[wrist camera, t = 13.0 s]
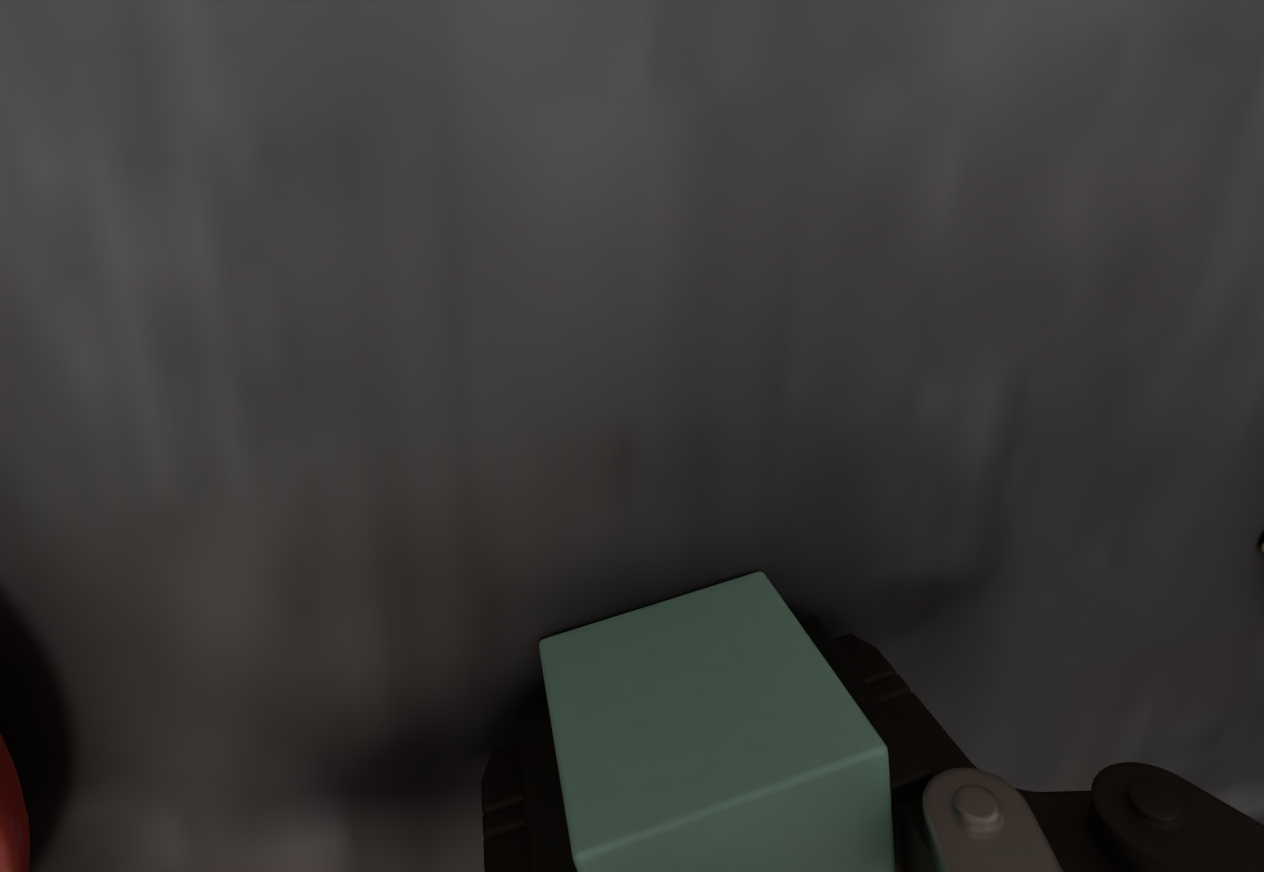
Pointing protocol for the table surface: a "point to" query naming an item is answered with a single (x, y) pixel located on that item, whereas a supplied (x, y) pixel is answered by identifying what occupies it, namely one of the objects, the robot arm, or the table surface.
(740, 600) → the block
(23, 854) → the flower pot
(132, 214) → the table surface
